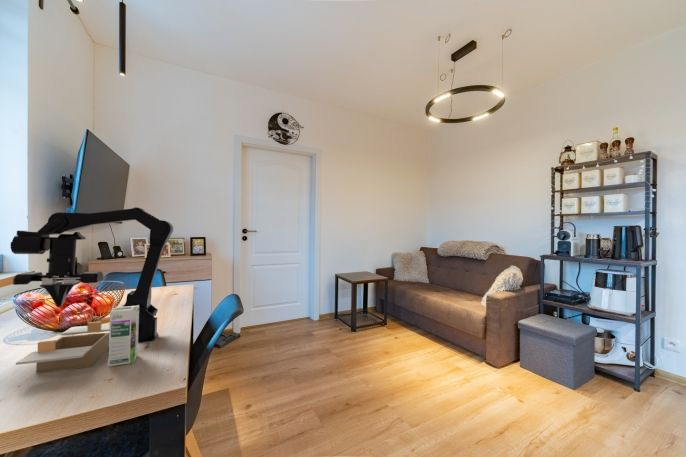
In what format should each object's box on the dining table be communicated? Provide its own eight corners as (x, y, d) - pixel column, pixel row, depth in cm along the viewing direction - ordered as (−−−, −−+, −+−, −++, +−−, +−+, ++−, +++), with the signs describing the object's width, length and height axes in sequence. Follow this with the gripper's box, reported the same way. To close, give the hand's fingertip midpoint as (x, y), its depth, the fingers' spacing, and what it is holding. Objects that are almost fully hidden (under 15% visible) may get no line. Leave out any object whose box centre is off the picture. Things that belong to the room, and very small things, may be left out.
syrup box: (107, 367, 74) (109, 311, 75) (113, 358, 80) (115, 306, 80) (134, 363, 77) (136, 309, 77) (138, 355, 82) (139, 304, 82)
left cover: (92, 347, 74) (92, 336, 74) (81, 357, 68) (82, 345, 68) (32, 354, 69) (32, 342, 69) (15, 364, 64) (16, 351, 64)
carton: (108, 349, 86) (109, 332, 86) (92, 366, 75) (93, 347, 75) (60, 354, 81) (61, 336, 81) (36, 373, 71) (36, 352, 71)
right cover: (118, 324, 92) (118, 315, 92) (111, 330, 86) (111, 321, 86) (71, 328, 88) (72, 319, 88) (61, 335, 82) (61, 325, 82)
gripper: (110, 252, 97) (107, 299, 97) (36, 252, 90) (33, 302, 90) (97, 255, 87) (94, 307, 87) (13, 254, 80) (9, 311, 79)
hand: (59, 306), depth 86 cm, fingers closed
